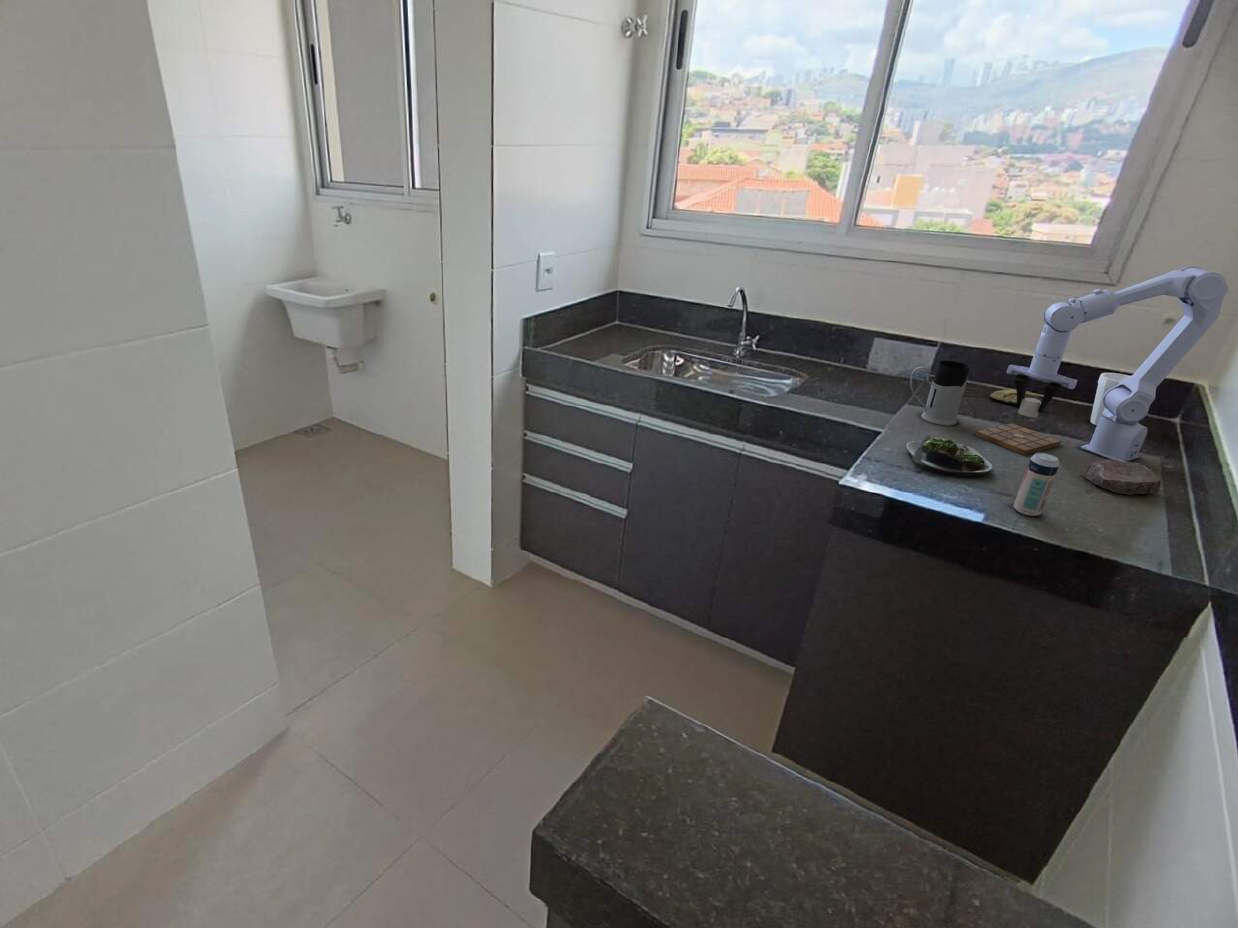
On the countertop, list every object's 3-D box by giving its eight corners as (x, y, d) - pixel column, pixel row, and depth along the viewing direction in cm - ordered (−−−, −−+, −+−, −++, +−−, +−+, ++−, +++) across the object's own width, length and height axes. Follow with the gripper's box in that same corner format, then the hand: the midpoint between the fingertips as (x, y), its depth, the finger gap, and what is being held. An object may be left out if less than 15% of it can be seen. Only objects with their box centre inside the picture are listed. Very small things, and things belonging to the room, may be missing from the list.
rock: (1046, 405, 190) (1049, 393, 189) (1035, 408, 183) (1038, 395, 182) (997, 397, 199) (1000, 386, 198) (985, 400, 192) (988, 387, 191)
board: (1058, 445, 163) (1060, 440, 162) (1024, 455, 156) (1025, 450, 155) (1010, 427, 172) (1012, 422, 172) (975, 435, 166) (977, 430, 165)
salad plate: (889, 439, 160) (893, 422, 158) (963, 445, 160) (969, 427, 158) (916, 474, 143) (921, 455, 141) (1000, 481, 142) (1006, 461, 140)
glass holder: (961, 426, 171) (978, 371, 164) (905, 421, 172) (919, 366, 166) (950, 414, 179) (965, 361, 172) (896, 409, 180) (910, 356, 173)
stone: (1079, 474, 147) (1087, 455, 145) (1135, 480, 146) (1144, 462, 144) (1099, 492, 139) (1108, 473, 137) (1159, 500, 138) (1169, 480, 136)
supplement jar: (1030, 505, 132) (1050, 451, 127) (1045, 518, 128) (1066, 462, 123) (1007, 505, 132) (1026, 451, 127) (1021, 517, 128) (1042, 461, 123)
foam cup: (1132, 428, 176) (1151, 382, 171) (1111, 432, 173) (1130, 385, 167) (1096, 415, 184) (1113, 371, 178) (1076, 419, 180) (1093, 374, 175)
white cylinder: (1040, 414, 162) (1045, 401, 160) (1034, 418, 159) (1039, 404, 157) (1021, 409, 165) (1025, 395, 163) (1015, 413, 162) (1019, 399, 160)
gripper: (1088, 359, 153) (1067, 414, 159) (1021, 345, 162) (1004, 397, 168) (1079, 364, 149) (1058, 420, 155) (1011, 349, 158) (994, 402, 164)
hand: (1029, 408), depth 161 cm, fingers closed on white cylinder, 4 cm apart
